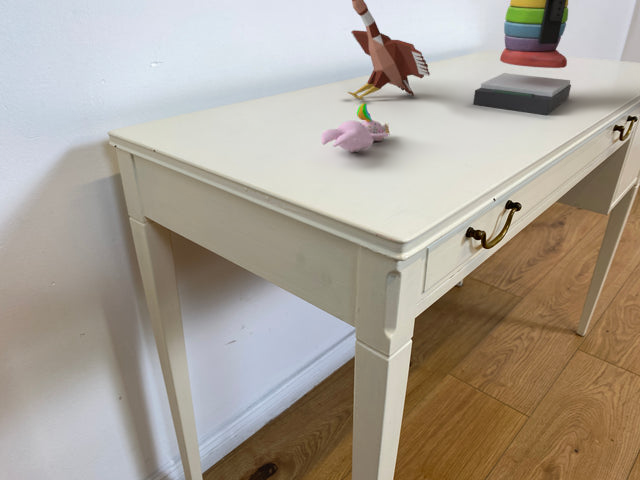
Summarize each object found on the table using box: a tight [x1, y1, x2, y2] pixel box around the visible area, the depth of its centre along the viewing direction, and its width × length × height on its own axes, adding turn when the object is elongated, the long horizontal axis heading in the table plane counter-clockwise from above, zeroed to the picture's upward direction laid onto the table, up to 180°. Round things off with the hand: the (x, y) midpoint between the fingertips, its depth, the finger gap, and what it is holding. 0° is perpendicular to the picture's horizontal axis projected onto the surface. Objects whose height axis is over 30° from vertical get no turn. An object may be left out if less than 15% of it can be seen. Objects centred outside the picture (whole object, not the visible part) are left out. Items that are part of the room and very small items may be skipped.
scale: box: [472, 72, 572, 116], centre depth 86 cm, size 14×12×3 cm
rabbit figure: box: [320, 102, 391, 153], centre depth 63 cm, size 6×6×15 cm
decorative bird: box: [347, 0, 431, 101], centre depth 86 cm, size 28×18×15 cm, turn 18°
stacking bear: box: [499, 0, 569, 69], centre depth 80 cm, size 11×10×18 cm
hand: (534, 39), depth 83 cm, fingers closed on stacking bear, 9 cm apart
